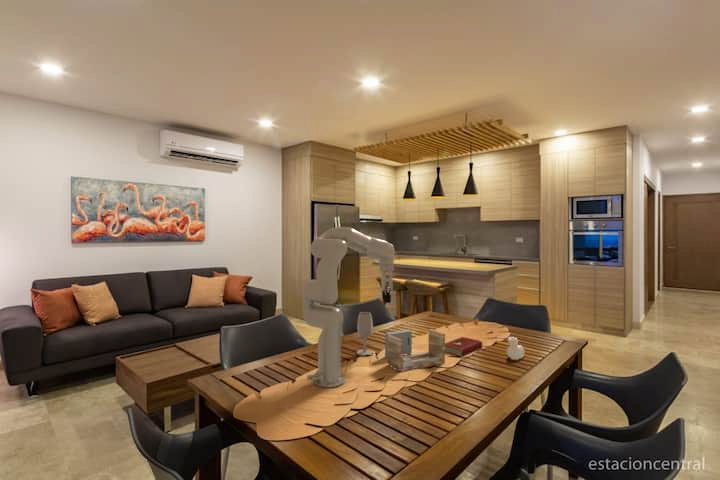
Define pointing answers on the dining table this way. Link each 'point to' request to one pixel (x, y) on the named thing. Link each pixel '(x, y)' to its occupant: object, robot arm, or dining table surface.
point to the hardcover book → (462, 346)
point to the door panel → (403, 335)
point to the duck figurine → (515, 349)
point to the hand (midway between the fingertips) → (386, 300)
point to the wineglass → (365, 330)
